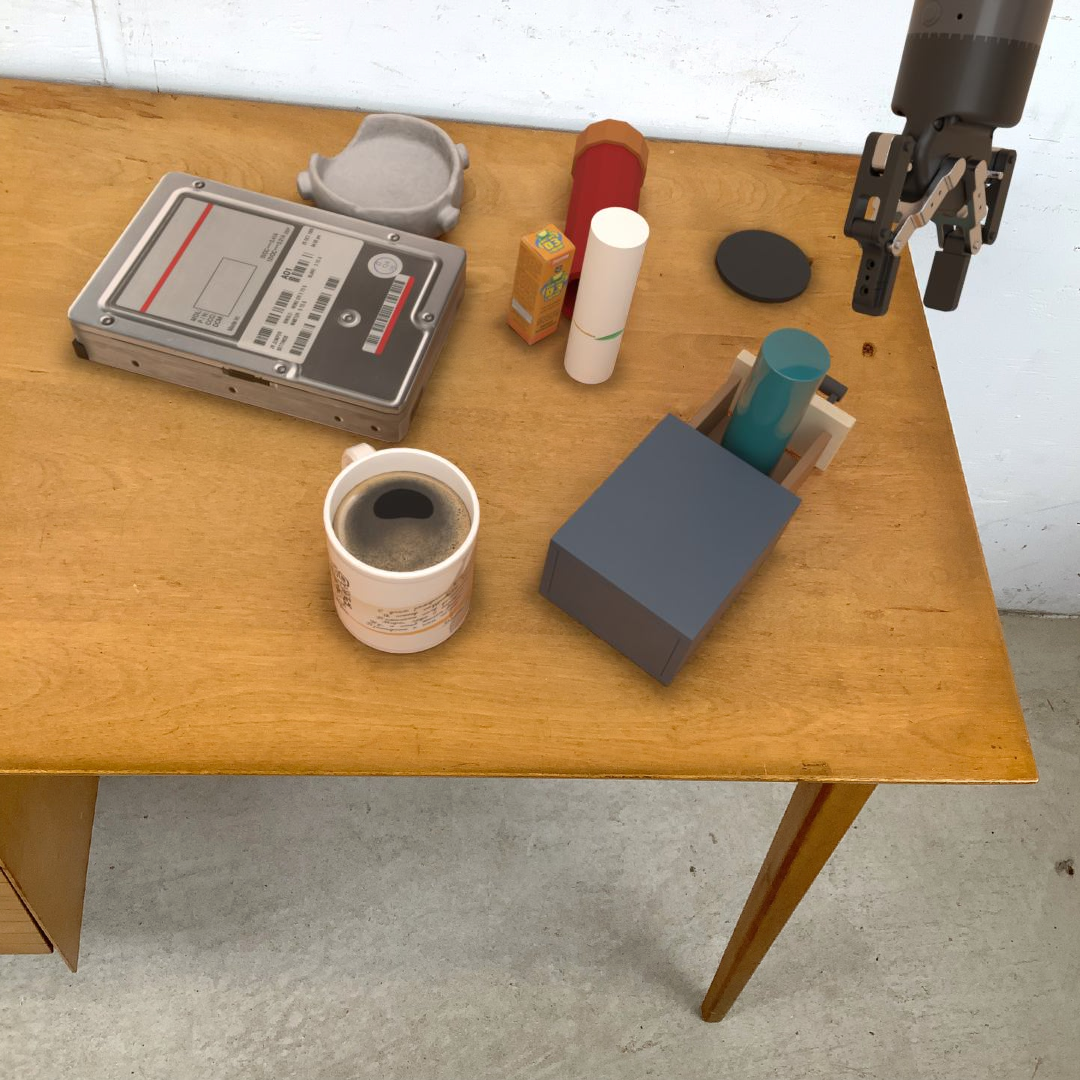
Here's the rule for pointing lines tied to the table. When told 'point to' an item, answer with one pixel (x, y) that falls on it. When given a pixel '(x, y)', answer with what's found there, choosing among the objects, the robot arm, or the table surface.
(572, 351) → the tube
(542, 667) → the table surface
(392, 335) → the hard drive
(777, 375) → the canister
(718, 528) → the cabinet
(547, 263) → the supplement box
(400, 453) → the mug
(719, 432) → the drawer
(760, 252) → the coaster
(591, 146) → the shell casing
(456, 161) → the dish
